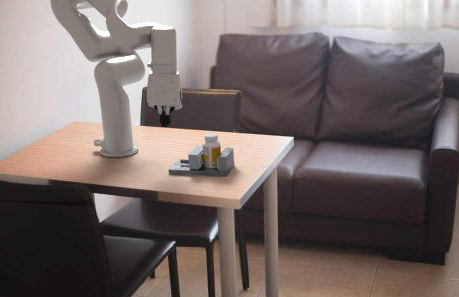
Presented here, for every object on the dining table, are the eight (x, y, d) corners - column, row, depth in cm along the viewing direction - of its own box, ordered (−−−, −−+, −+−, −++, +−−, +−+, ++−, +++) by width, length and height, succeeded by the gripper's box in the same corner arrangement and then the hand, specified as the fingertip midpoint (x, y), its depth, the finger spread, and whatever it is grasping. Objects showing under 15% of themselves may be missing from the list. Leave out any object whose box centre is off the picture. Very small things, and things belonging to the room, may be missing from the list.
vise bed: (168, 174, 207) (167, 155, 205) (179, 163, 216) (177, 145, 214) (226, 176, 202) (225, 157, 200) (234, 165, 211) (233, 147, 210)
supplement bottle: (223, 163, 210) (221, 132, 207) (219, 168, 205) (218, 137, 202) (205, 162, 211) (204, 132, 208) (202, 168, 206) (200, 137, 203)
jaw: (176, 168, 206) (175, 154, 205) (185, 158, 214) (184, 145, 213) (199, 169, 204) (199, 155, 203) (208, 159, 212) (207, 146, 211)
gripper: (136, 68, 204) (138, 127, 210) (183, 72, 201) (184, 131, 207) (145, 63, 211) (147, 120, 217) (191, 67, 207) (192, 124, 214)
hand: (165, 125), depth 212 cm, fingers closed
